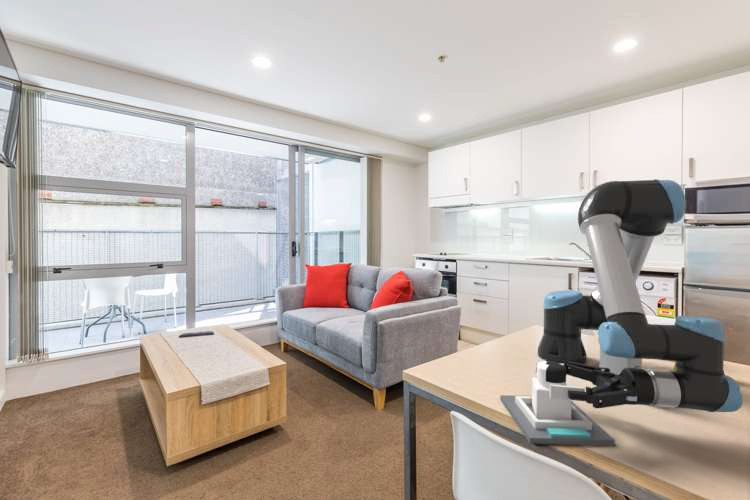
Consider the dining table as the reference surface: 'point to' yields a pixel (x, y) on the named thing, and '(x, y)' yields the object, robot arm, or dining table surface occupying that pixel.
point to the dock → (555, 425)
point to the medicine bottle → (541, 392)
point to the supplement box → (618, 363)
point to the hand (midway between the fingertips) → (541, 378)
